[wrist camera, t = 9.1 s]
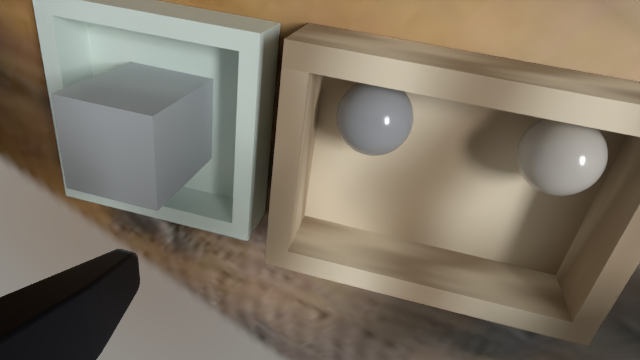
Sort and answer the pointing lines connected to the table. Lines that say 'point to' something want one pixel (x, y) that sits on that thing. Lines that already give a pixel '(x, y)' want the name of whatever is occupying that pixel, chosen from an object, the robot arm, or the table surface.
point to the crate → (454, 184)
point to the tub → (188, 57)
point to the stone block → (134, 133)
